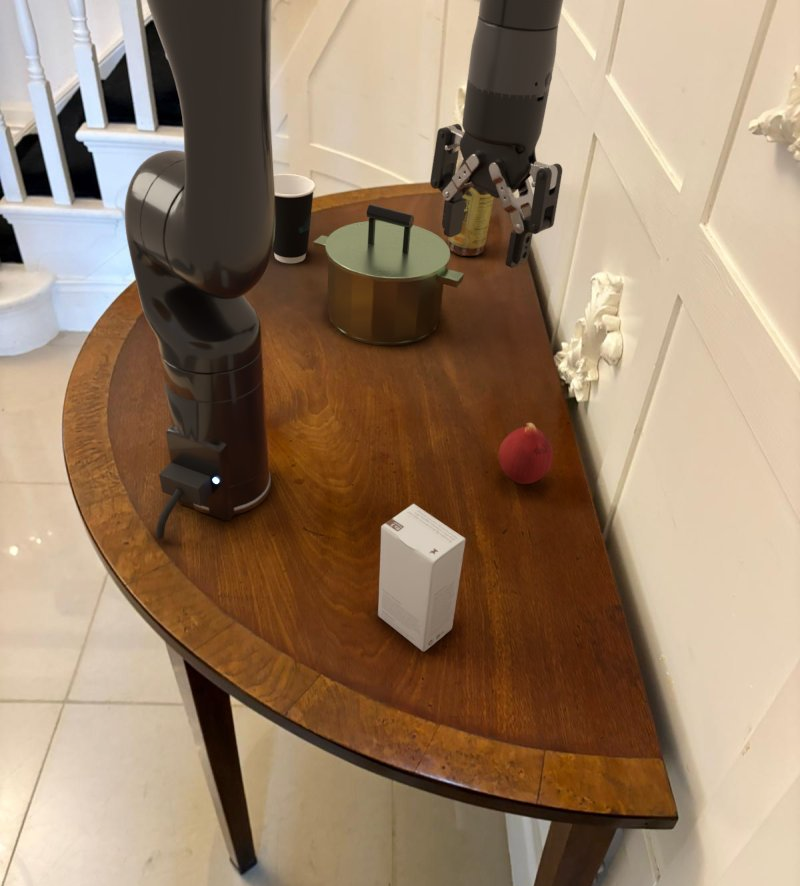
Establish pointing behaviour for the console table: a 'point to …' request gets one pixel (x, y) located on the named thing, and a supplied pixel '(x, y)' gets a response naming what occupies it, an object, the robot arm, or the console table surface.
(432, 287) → the pot
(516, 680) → the console table surface
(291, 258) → the dixie cup
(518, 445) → the onion
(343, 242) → the lid
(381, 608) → the cosmetic box
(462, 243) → the sauce bottle
